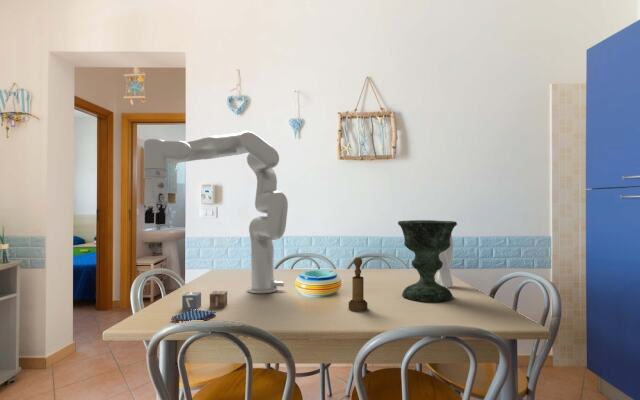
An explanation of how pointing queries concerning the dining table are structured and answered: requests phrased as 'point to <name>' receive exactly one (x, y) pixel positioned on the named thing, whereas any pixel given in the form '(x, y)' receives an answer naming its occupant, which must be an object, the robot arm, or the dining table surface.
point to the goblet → (427, 257)
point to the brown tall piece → (357, 290)
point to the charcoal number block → (191, 300)
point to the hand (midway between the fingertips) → (154, 223)
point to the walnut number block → (218, 299)
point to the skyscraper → (445, 267)
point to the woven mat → (193, 315)
